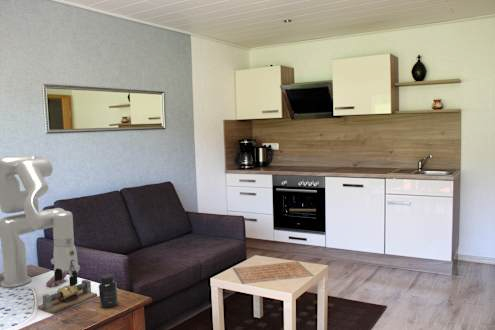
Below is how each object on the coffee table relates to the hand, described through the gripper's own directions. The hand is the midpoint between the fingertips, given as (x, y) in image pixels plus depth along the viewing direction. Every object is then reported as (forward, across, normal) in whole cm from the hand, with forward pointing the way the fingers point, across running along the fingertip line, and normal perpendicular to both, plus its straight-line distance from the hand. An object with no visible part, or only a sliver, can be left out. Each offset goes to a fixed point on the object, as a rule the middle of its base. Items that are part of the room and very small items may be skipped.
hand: (66, 282), depth 179 cm
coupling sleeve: (+6, -1, 0) cm, 6 cm away
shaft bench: (+8, -1, 0) cm, 8 cm away
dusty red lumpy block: (+9, +23, -12) cm, 27 cm away
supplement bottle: (+8, -18, -6) cm, 21 cm away
